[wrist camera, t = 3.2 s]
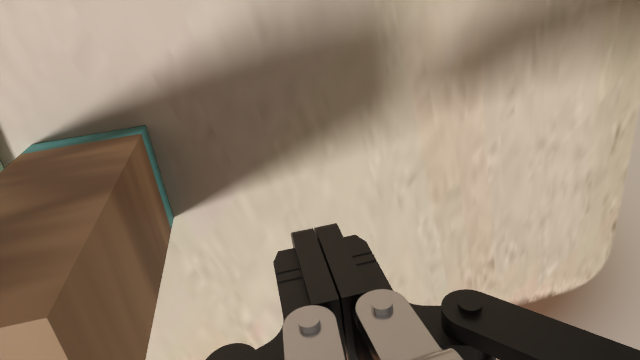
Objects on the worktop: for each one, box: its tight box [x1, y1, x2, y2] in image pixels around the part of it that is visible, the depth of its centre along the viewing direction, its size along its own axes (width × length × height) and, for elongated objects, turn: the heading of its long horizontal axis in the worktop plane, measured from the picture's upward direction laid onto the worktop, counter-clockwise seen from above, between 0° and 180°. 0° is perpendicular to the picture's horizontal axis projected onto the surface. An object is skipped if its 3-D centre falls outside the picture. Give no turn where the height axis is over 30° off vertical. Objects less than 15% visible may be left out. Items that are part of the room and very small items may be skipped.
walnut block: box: [0, 125, 174, 360], centre depth 15 cm, size 5×5×13 cm
